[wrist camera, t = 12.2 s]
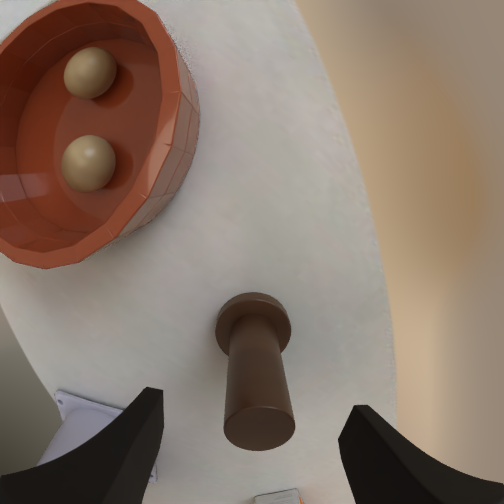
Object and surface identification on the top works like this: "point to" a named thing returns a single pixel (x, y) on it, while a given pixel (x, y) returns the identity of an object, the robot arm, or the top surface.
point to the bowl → (90, 129)
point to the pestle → (255, 372)
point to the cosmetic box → (280, 498)
